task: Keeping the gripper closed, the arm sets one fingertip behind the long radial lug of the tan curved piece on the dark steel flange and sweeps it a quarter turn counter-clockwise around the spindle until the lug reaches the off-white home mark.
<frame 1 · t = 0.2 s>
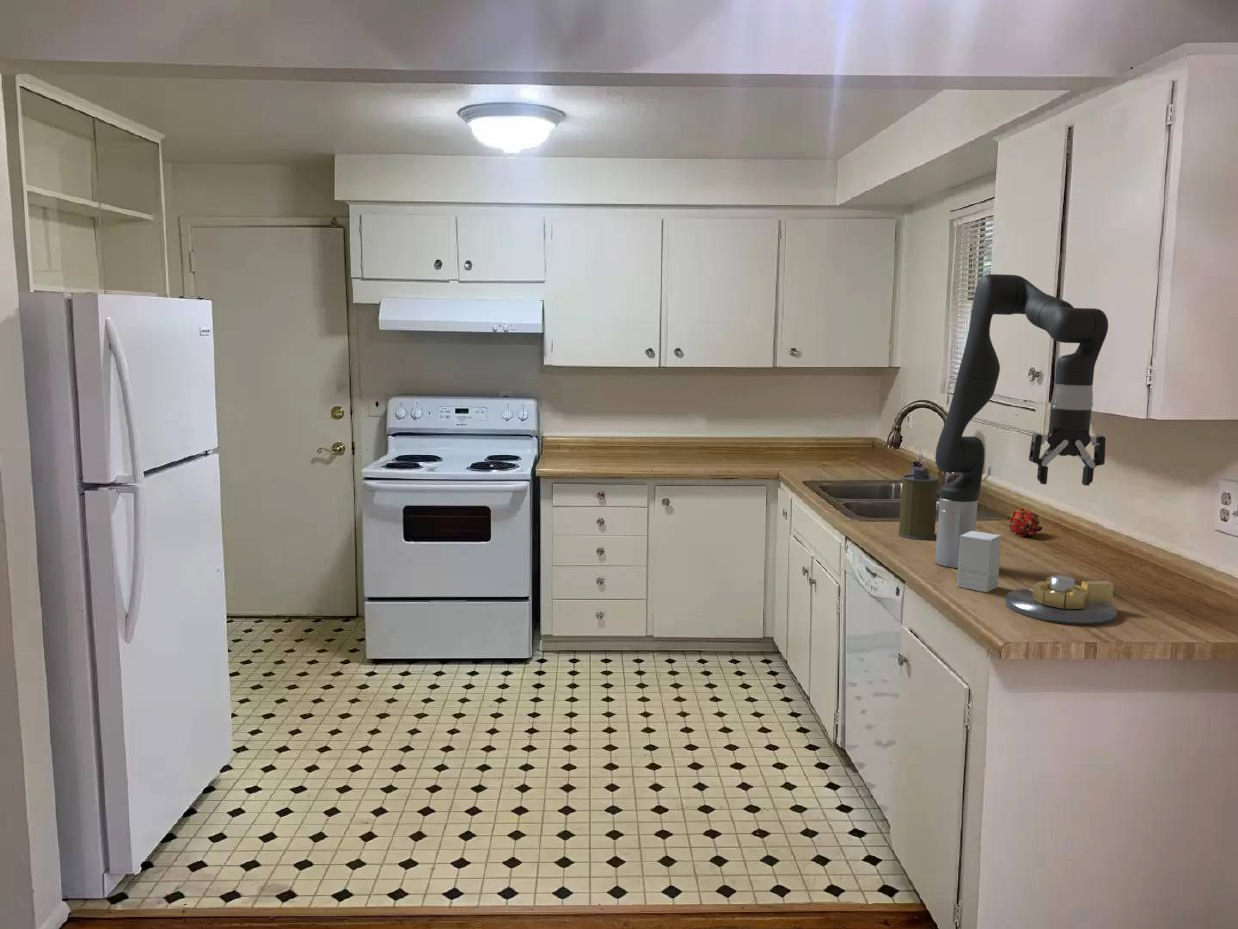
hand: (1064, 484, 195), 29 cm above the worktop, fingers open, 8 cm apart
dragon fruit: (1023, 536, 278), on the worktop
canister: (916, 536, 275), on the worktop
flange: (1059, 609, 205), on the worktop
supplement box: (977, 587, 222), on the worktop
tan curved piece: (1074, 592, 205), point 4 cm above the worktop, hinge at 0.0°
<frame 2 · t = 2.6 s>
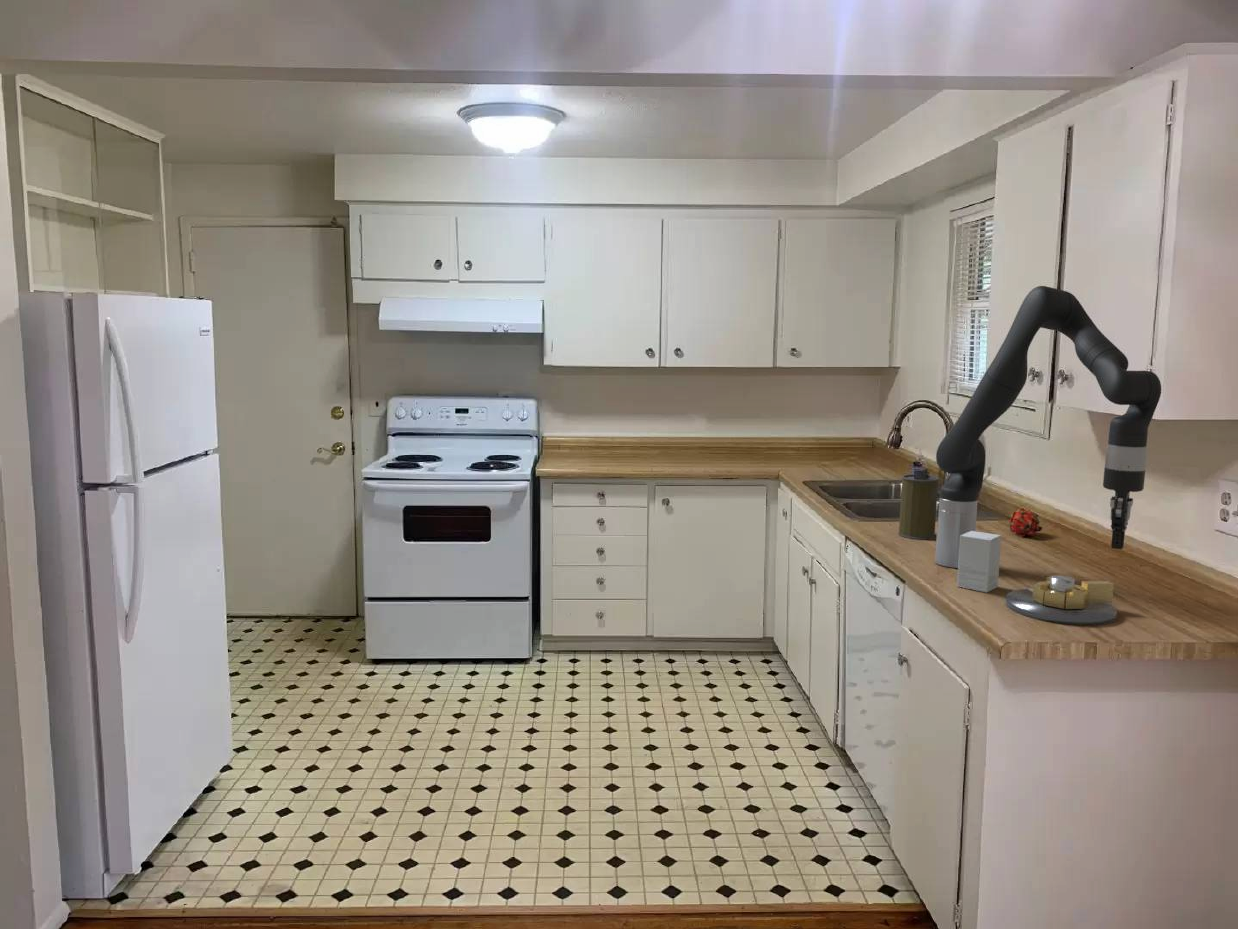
hand: (1117, 548, 197), 15 cm above the worktop, fingers closed
nothing on the worktop moved.
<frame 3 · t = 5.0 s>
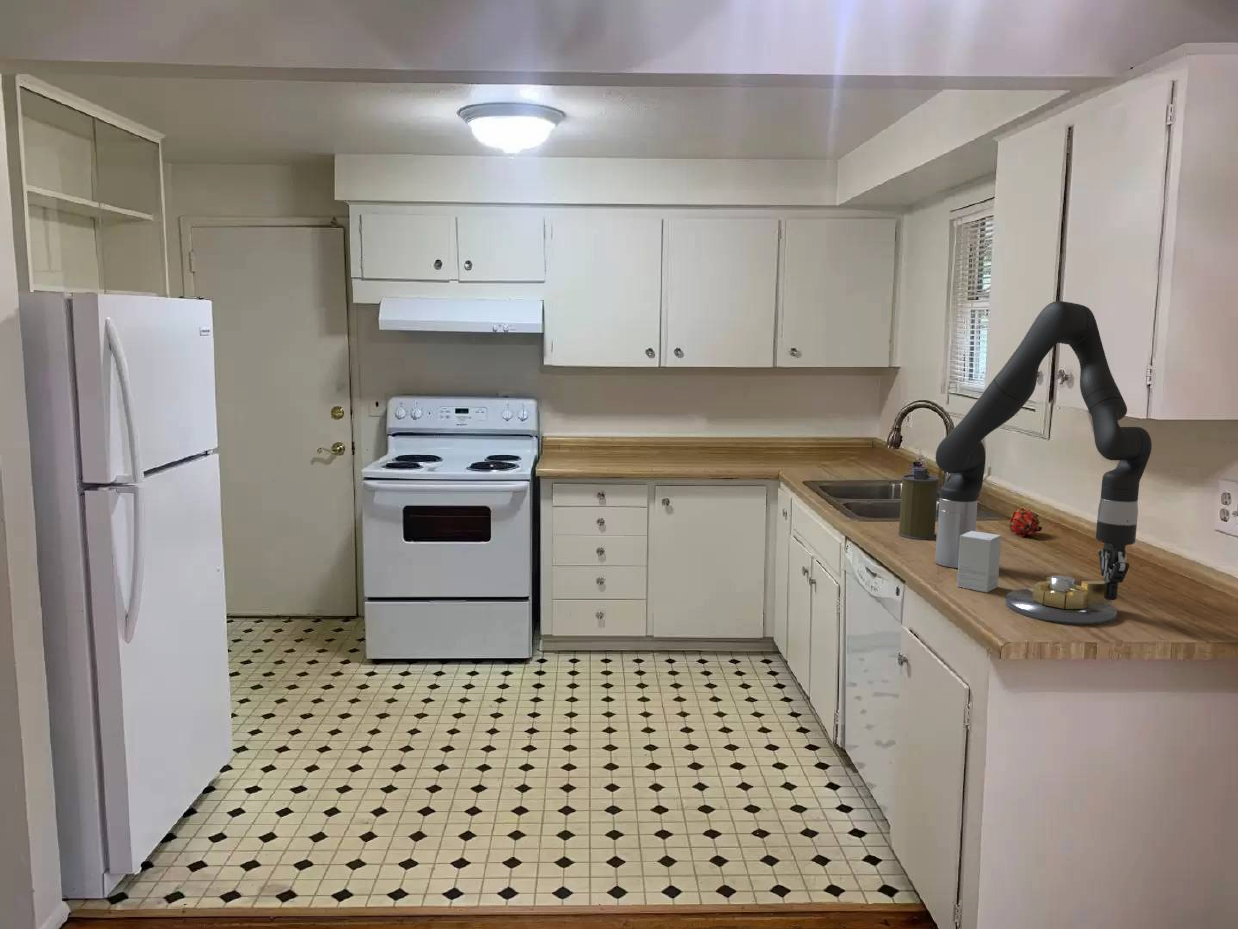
hand: (1109, 599, 202), 3 cm above the worktop, fingers closed
tan curved piece: (1074, 592, 205), point 4 cm above the worktop, hinge at 0.2°, touching gripper
everything else where it was.
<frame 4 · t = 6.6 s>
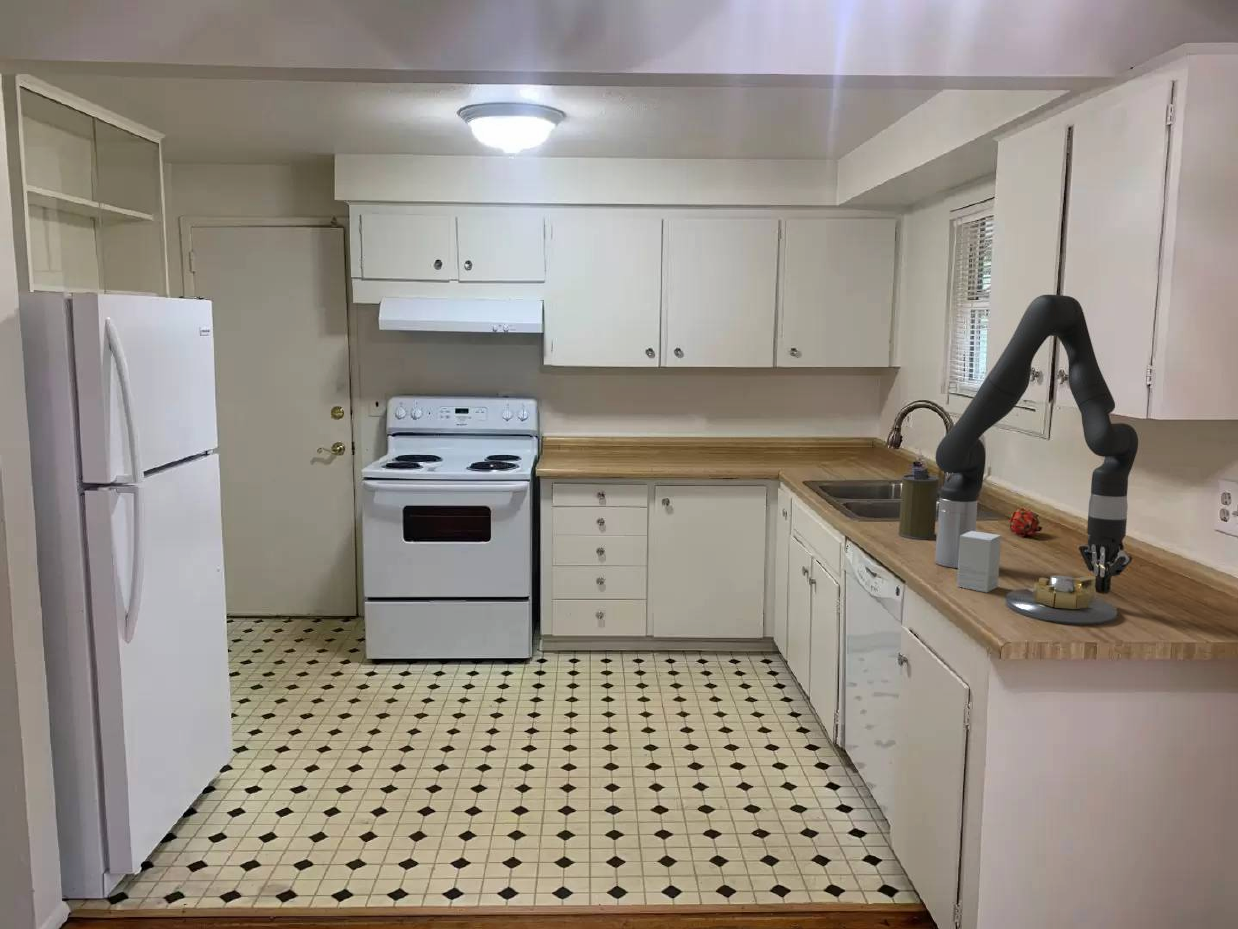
hand: (1102, 592, 206), 3 cm above the worktop, fingers closed
tan curved piece: (1069, 590, 206), point 4 cm above the worktop, hinge at 23.9°, touching gripper
everything else where it was.
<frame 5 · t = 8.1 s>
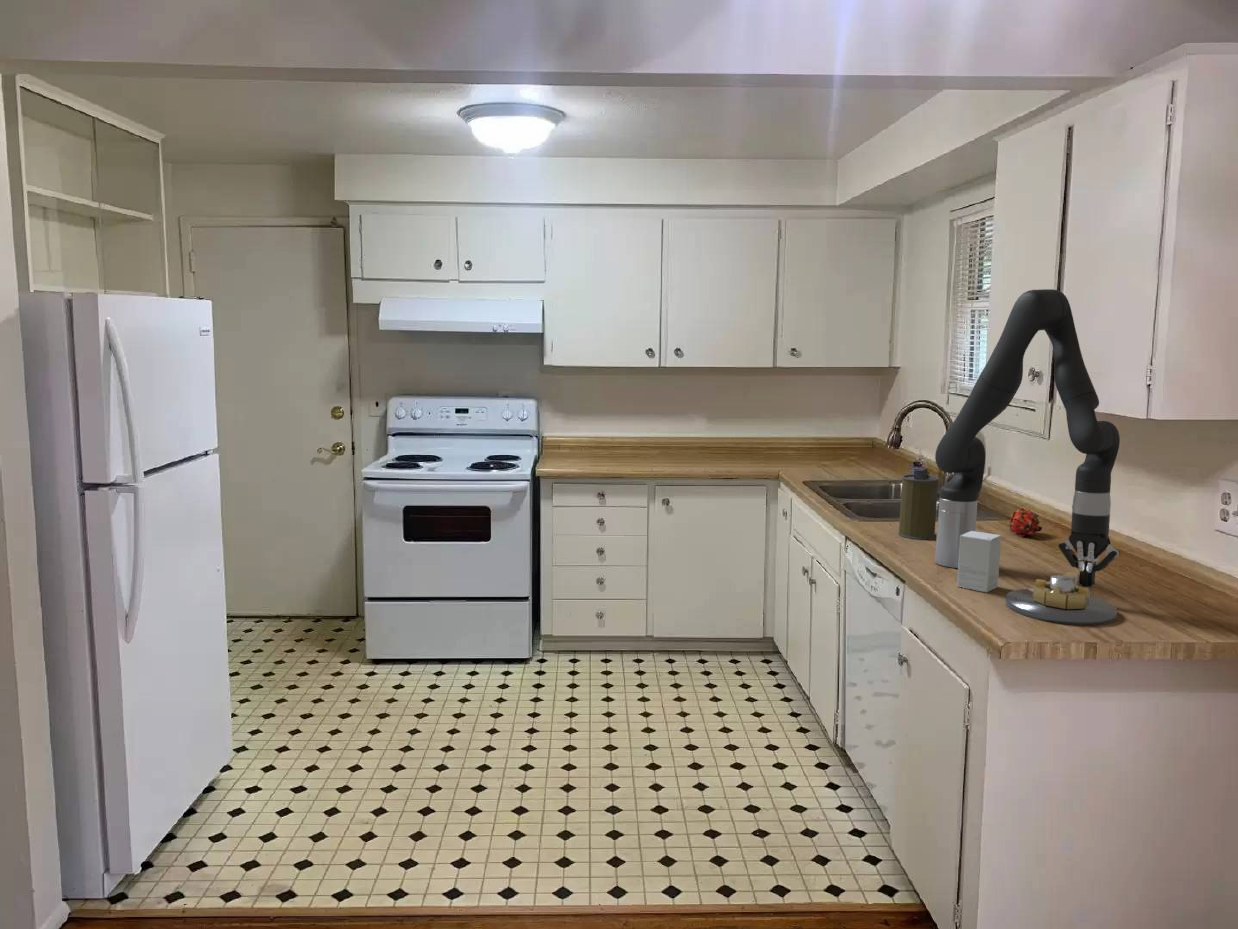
hand: (1086, 587, 210), 4 cm above the worktop, fingers closed
tan curved piece: (1064, 589, 207), point 4 cm above the worktop, hinge at 48.2°, touching gripper
everything else where it was.
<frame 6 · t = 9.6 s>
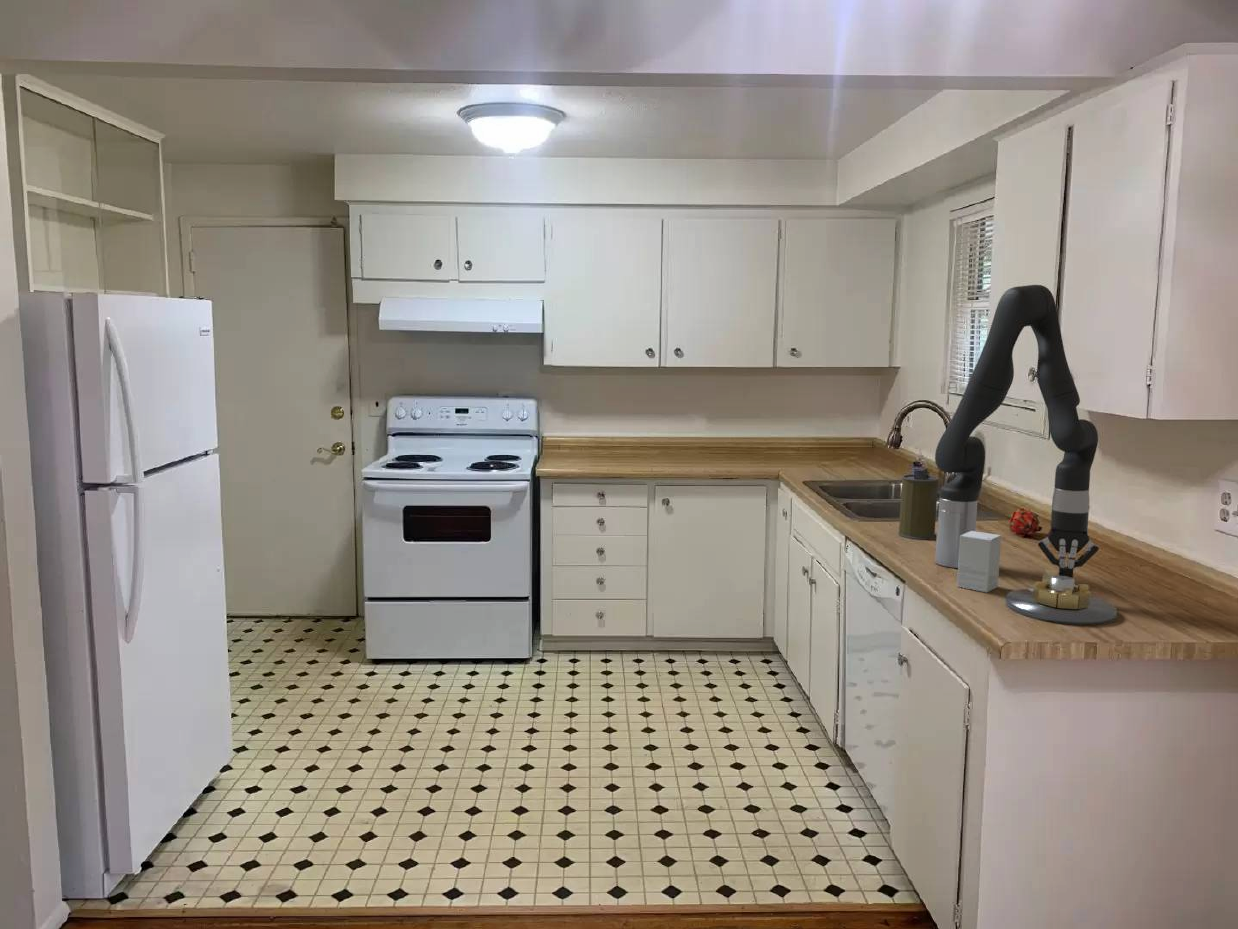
hand: (1065, 583, 213), 3 cm above the worktop, fingers closed
tan curved piece: (1057, 588, 207), point 4 cm above the worktop, hinge at 74.2°, touching gripper
everything else where it was.
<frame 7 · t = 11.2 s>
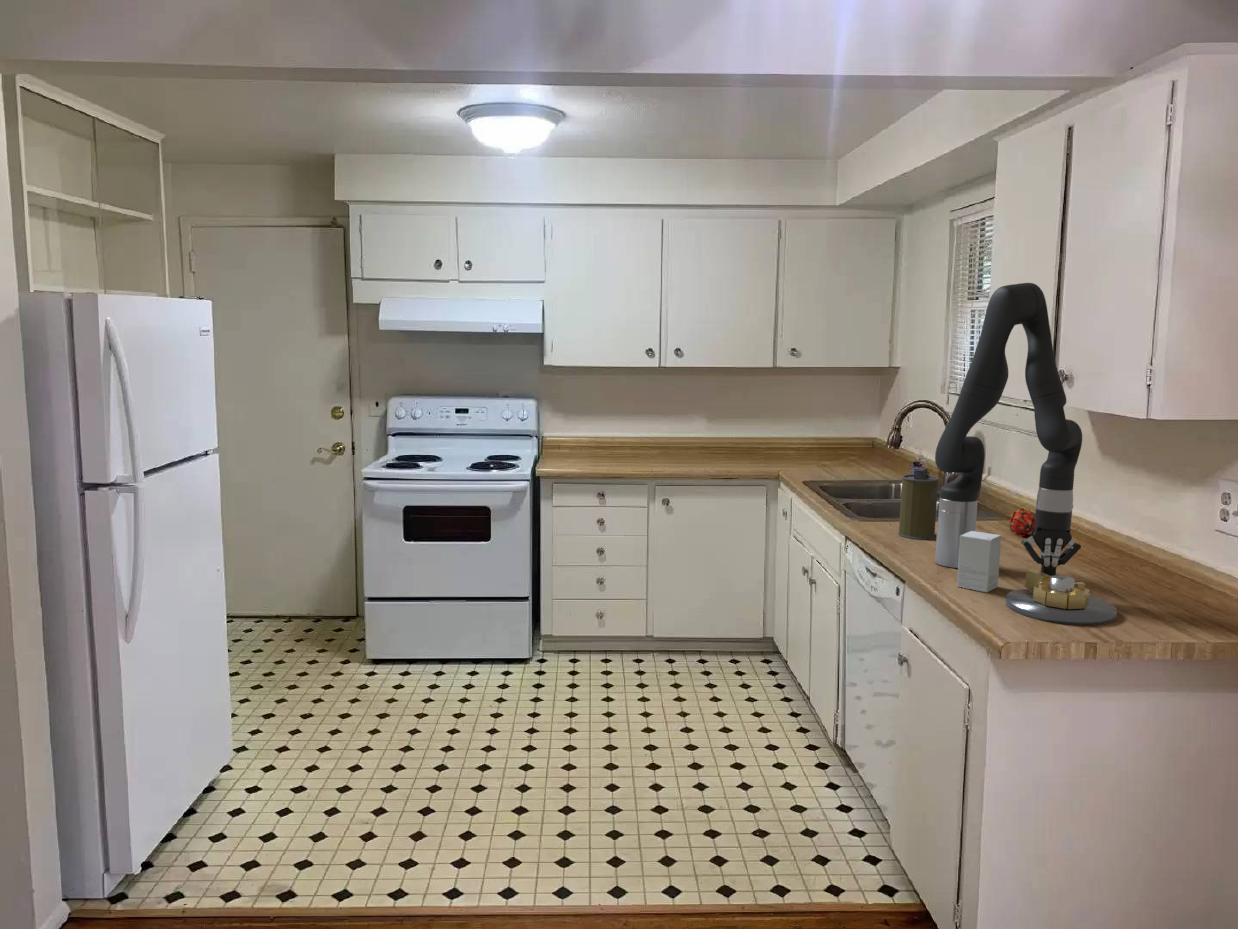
hand: (1047, 581, 215), 3 cm above the worktop, fingers closed
tan curved piece: (1052, 588, 207), point 4 cm above the worktop, hinge at 95.3°
everything else where it was.
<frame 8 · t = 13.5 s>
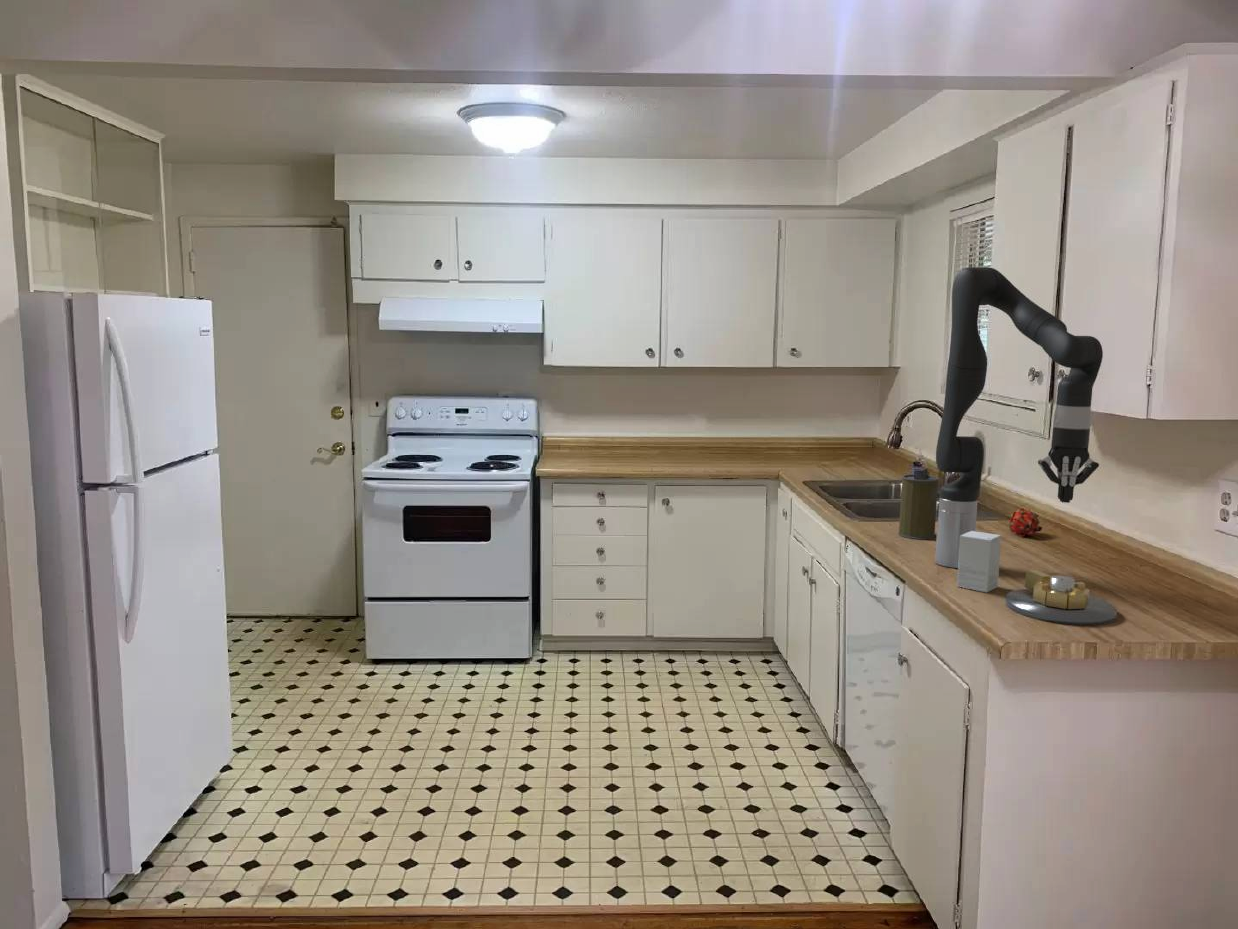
hand: (1064, 501, 212), 22 cm above the worktop, fingers closed
nothing on the worktop moved.
at the end: tan curved piece at +95° (first picture: +0°); tan curved piece touching nothing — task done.
